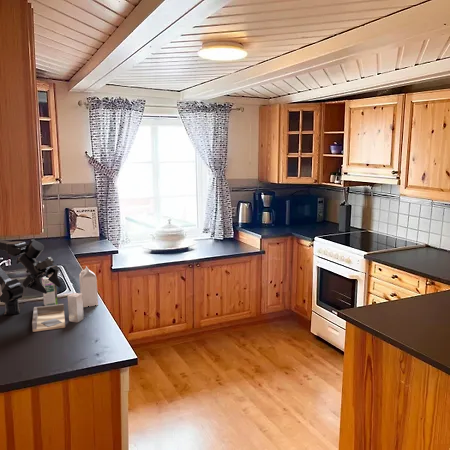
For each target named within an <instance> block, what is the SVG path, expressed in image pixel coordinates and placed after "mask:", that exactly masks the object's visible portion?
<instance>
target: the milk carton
mask: <svg viewBox="0 0 450 450" xmlns="http://www.w3.org/2000/svg"><path fill="white" fill-rule="evenodd" d="M78 277H79V291H80V292H79V293H81V294H82V300H83V308H88V306H89V307H95V305H96V306H98V305H99V298H98V284H97V283H98V281H97V275H96V274H95V272H93V271H92V270H90V269H89V268H88V266H87V265H85V268H84V269H82V270H81V271H80V273H79V275H78Z"/></svg>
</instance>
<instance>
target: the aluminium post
mask: <svg viewBox="0 0 450 450" xmlns="http://www.w3.org/2000/svg"><path fill="white" fill-rule="evenodd" d="M67 309H68V321H69V322H72V323H80V322H81V321H83V320H84V319H85V318H84V317H85V316H84V307H83V300H82V294H81V293H80V292H73V293H70V294H69V295H67Z"/></svg>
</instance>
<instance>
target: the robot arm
mask: <svg viewBox="0 0 450 450" xmlns="http://www.w3.org/2000/svg"><path fill="white" fill-rule="evenodd" d="M44 249H45V245H44V244H43V243H42V242H41V241H37V240H35V239H30V240H29V242H28V243H26V242H25V241H19V240H18V241H8V240H4V239H1V238H0V250H1V251H4V252H6V253H7V254H8V255H9V256H12V257H17V256H18V257H17V258H16V265H20V264H21V265H22V266H23V267H24V268H25V269H26V270H25V273H26V274H28V273H29V275H27V276H26V277H25V278H24V280H23V281H22V282H20V281H19V280H18V279H17V278H13V279H11V278H10V277H9V275H8V274H7V273H6V272H5V270H3V268H2V267H1V266H0V289H1V291H0V292H1V295H0V303H4V307H5V308H4V309H5V311H4V314H3V315H4V316H9V315H10V316H11V315H17V314H20V313H21V308H20V307H19V299H22V298H23V294H24V288H25V289H26V288H28V289H31V290H35V291H37V292H40V293H42V294H43V293H45V294H47V291H46V289H45V288H44V287H43V285H42V282H41V280H40V279H42V278H43V277H45V276H46V277H47V278H49V279H48V280H49V281H51V282H52V283H53V284H55V285H56V287H58V288H59V289H60V288H61V287H62V285H61V282H60V279H59V277H58V274H59V272H60V268H59V266H58V265H54V263H55V261H54V258H52V256H48V257H46V258H45V260H42V261H41V260H37V258H38V257H39V256H40V255H41V254H42V252H43V251H44Z"/></svg>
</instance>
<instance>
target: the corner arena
mask: <svg viewBox="0 0 450 450" xmlns="http://www.w3.org/2000/svg"><path fill="white" fill-rule="evenodd" d="M31 326H32V332H41V331H48V330H57V329H64V328H66V317H65V304H64V303H58V304H57V305H49V306H45V305H41V306H34V307H33V313H32V321H31Z"/></svg>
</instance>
